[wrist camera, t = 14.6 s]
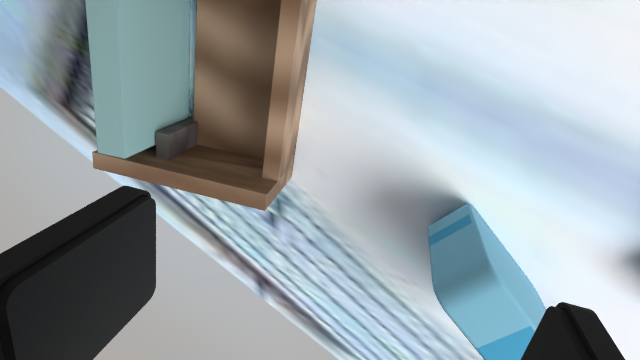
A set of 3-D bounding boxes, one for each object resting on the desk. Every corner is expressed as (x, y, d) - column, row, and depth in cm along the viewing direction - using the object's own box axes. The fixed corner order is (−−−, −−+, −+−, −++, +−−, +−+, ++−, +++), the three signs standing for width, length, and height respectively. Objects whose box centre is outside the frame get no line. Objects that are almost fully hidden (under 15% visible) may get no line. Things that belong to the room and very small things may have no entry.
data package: (425, 220, 38) (432, 297, 27) (466, 196, 37) (491, 268, 26) (494, 307, 40) (526, 412, 29) (536, 288, 38) (586, 392, 27)
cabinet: (145, -60, 34) (74, -84, 27) (321, -33, 32) (295, -50, 25) (148, 143, 42) (93, 168, 34) (291, 177, 40) (264, 210, 32)
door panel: (156, -27, 35) (68, -46, 26) (191, -22, 35) (114, -40, 26) (159, 122, 41) (87, 150, 32) (189, 129, 40) (124, 158, 31)
